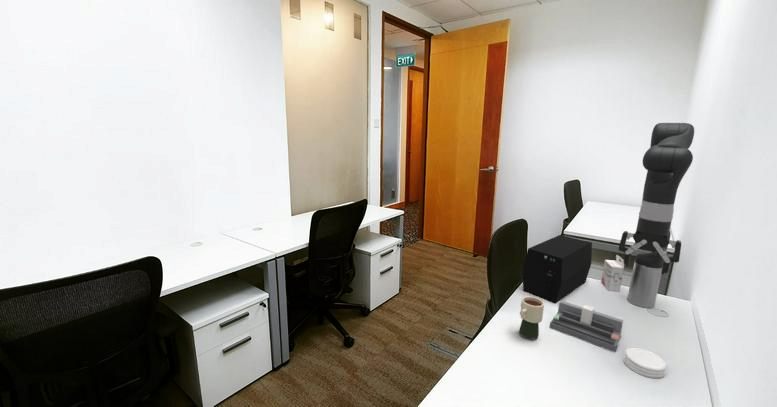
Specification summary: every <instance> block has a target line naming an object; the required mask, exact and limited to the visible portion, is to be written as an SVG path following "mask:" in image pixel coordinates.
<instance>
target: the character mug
mask: <svg viewBox="0 0 777 407" xmlns="http://www.w3.org/2000/svg"><path fill="white" fill-rule="evenodd" d="M544 309H545V302H544V301H543V300H542V299H541V298H539V297H537V296H531V295H530V296H528V295H526V296H522V298H521V302H520V311H519V316H520V319H521V322H520V326H519V329H518V333H519V334H520V335H521V336H522V337H524V338H527V339H531V340H536V339H538V338H539V334H540V333H539V332H540V328H539V324H540V323H541V322H543V316H544Z"/></svg>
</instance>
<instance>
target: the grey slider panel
mask: <svg viewBox="0 0 777 407" xmlns="http://www.w3.org/2000/svg"><path fill="white" fill-rule="evenodd" d="M582 308H583V306H580V305H578V304H573V303H570V302H567V301H564V300H560V301H559V302H558V309H557V312H556V314H555V315H554V316H553V318H552V319H551V321H550V322H549V328H550V329H552V330H555V331H557V332H559V333H563V334H566V335H568V336H571V337H573V338H577V339H579V340H582V341H584V342H587V343H588V344H589V343H590V344H592V345H595V346H598V347H600V348H603V349H606V350H609V351H610V352H614V353H615V352H616V350H617V348H618V347H617V346H618V344H619V341H620V339H621V335H622V328H623V323H624V319H620V318H618V317H616V316H615V317H613V316H611V315H608V314H606V313H601V312H599V311H596V310H594V311H593V317H592V322H591V326H590V325H588V324H585V323H582V322H580V320H581V314H582Z"/></svg>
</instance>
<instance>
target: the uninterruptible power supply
mask: <svg viewBox="0 0 777 407" xmlns="http://www.w3.org/2000/svg"><path fill="white" fill-rule="evenodd" d="M592 250H593V242H592V241H587V240H583V239H577V238H574V237H570V236H565V235H564V234H558V235H557V236H554V237H551V238H549V239H547V240H545V241H543V242H540V243H538V244H535V245H533V246H531V247H528V248H527V251H526V255H525V260H524V264H523V268H522V291H523V292H524V293H527V294H528V295H532V296H533V297H536V298H538V299H541V300H542V299H543V300H545V301H547V302H549V303H552V304H555V305H556V304H557V303H559V302H560V301H563V299H564V298H566V297H567V296H569V295H570V294H572V293H573V292H574V291H576V290H577V289H578V288H580V287H581V286H583V285H584V284H585V283H586V281H587V278H588V275H589V273H590V270H591V269H590V268H591V267H592V266H591V265H592V260H593V258H592V257H593V256H592Z"/></svg>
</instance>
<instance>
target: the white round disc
mask: <svg viewBox="0 0 777 407" xmlns="http://www.w3.org/2000/svg"><path fill="white" fill-rule="evenodd" d="M623 363H624V364H625V366H626V367H628V368H629V369H630V370H631V371H633V372H634V373H636V374H638V375H641V376H643V377H647V378H650V379H660V378H663V377H664V376H665V375H666V369H667V364H666V362H665V360H664V359H663V358H662V357H660V356H659V355H658V354H656V353H654V352H652V351H650V350H647V349H645V348H640V347H629V348H627V349H625V352H624V357H623Z"/></svg>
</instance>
